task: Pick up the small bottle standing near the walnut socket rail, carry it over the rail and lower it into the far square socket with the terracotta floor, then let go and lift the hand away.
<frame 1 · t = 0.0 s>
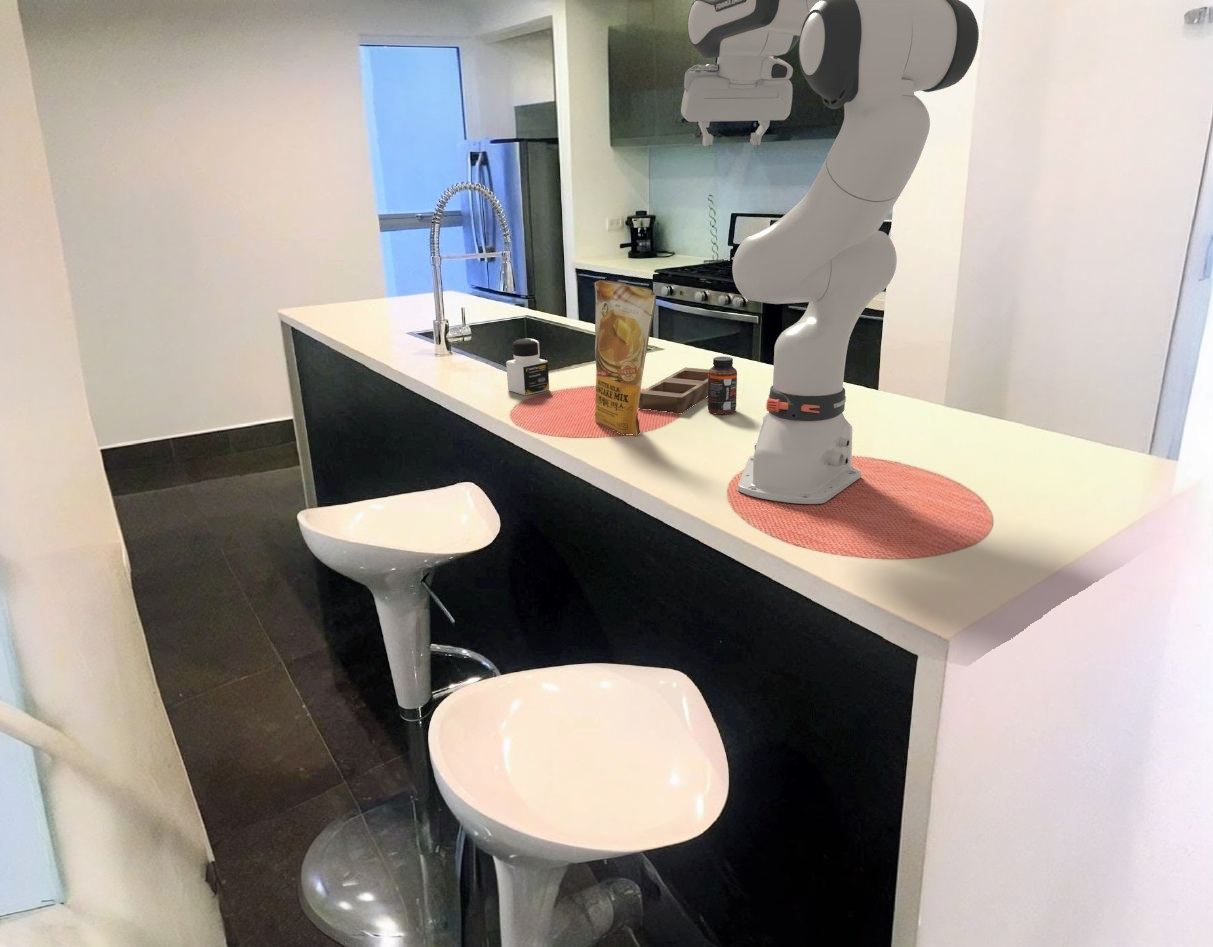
hand: (731, 144, 156), 52 cm above the table, tool tilted 20°, fingers open, 8 cm apart
supplement bottle: (721, 412, 174), on the table
socket rail: (683, 396, 186), on the table
medicine bottle: (528, 391, 196), on the table
pancake mix bag: (620, 426, 167), on the table
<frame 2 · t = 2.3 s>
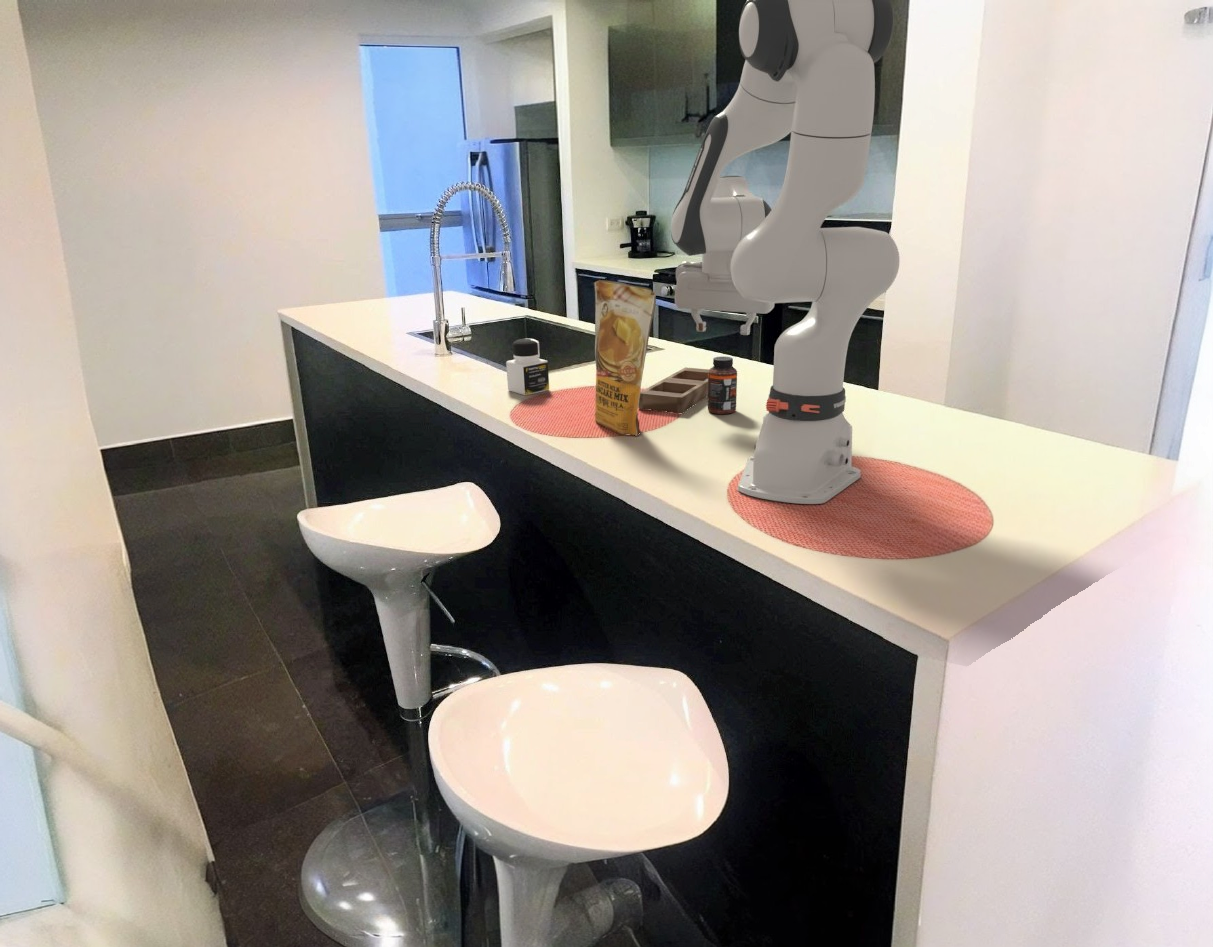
hand: (722, 332, 169), 16 cm above the table, tool pointing down, fingers open, 8 cm apart
nothing on the table moved.
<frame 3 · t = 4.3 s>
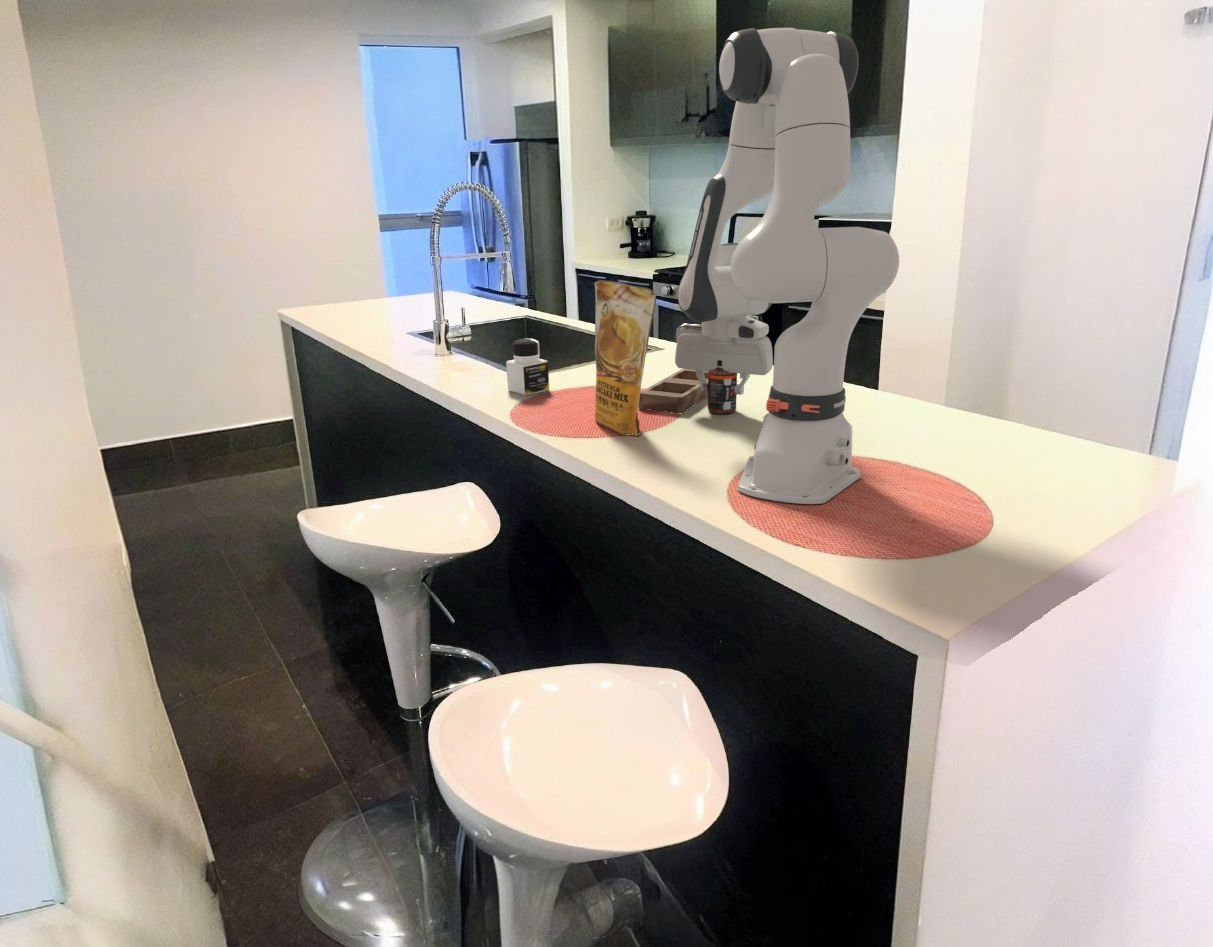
hand: (722, 392, 173), 4 cm above the table, tool pointing down, fingers closed on supplement bottle, 6 cm apart
supplement bottle: (721, 412, 174), on the table, touching gripper
everything else where it was.
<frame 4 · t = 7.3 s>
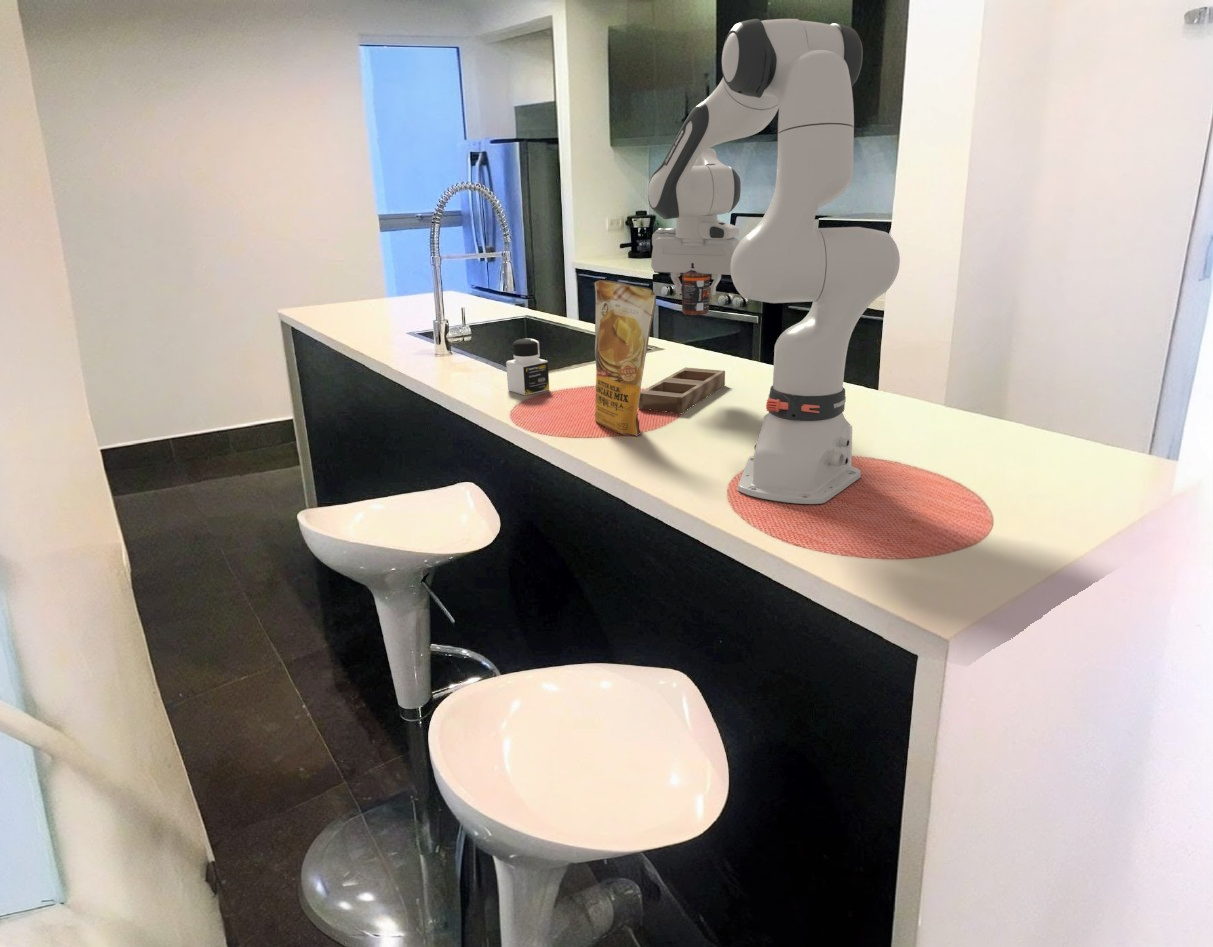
hand: (695, 293, 183), 22 cm above the table, tool pointing down, fingers closed on supplement bottle, 6 cm apart
supplement bottle: (695, 314, 185), point 17 cm above the table, touching gripper
everything else where it was.
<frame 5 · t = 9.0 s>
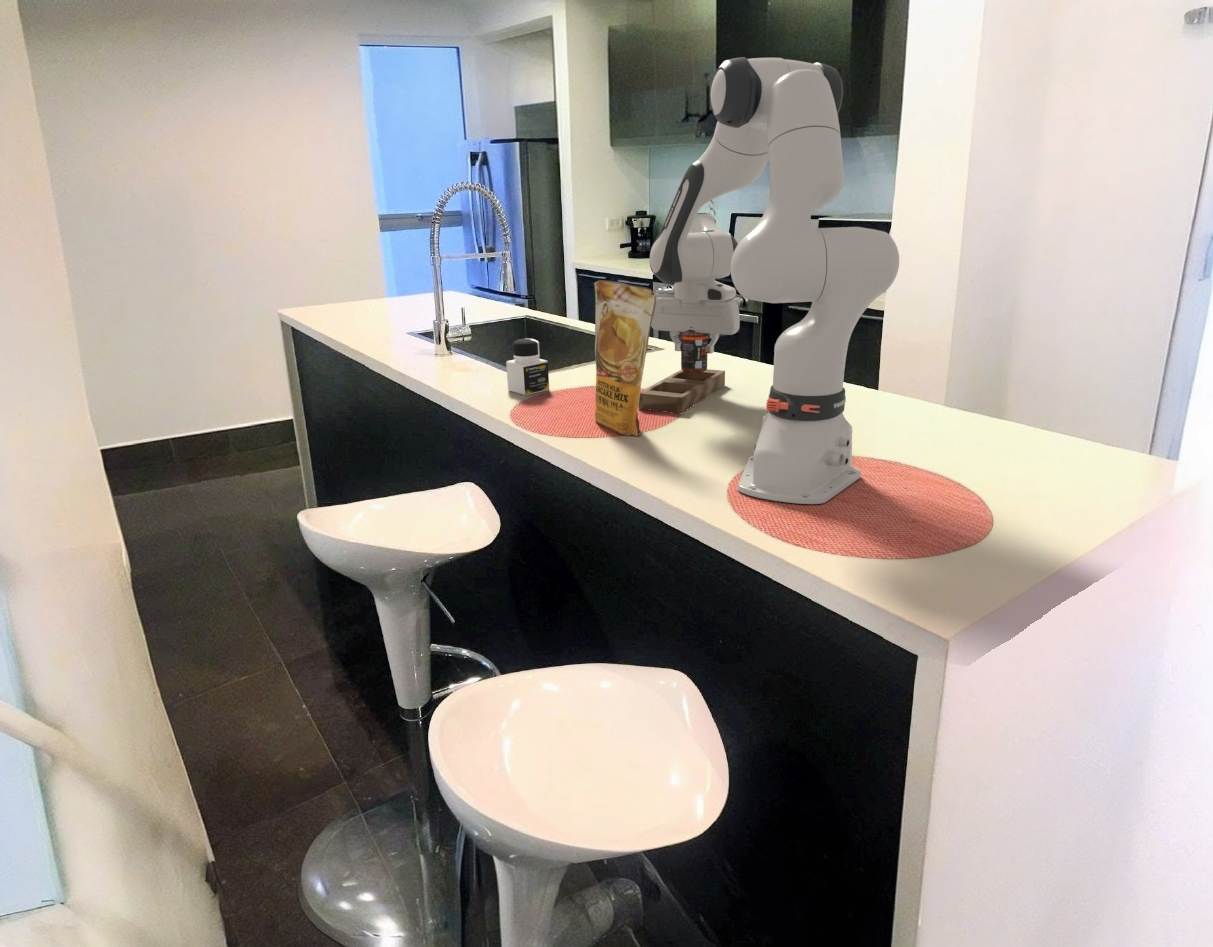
hand: (694, 351, 188), 9 cm above the table, tool pointing down, fingers closed on supplement bottle, 6 cm apart
supplement bottle: (694, 371, 190), point 4 cm above the table, touching gripper
everything else where it was.
when the fingers open (6 cm above the table, at t = 10.5 s): supplement bottle drops 1 cm, resting on socket rail.
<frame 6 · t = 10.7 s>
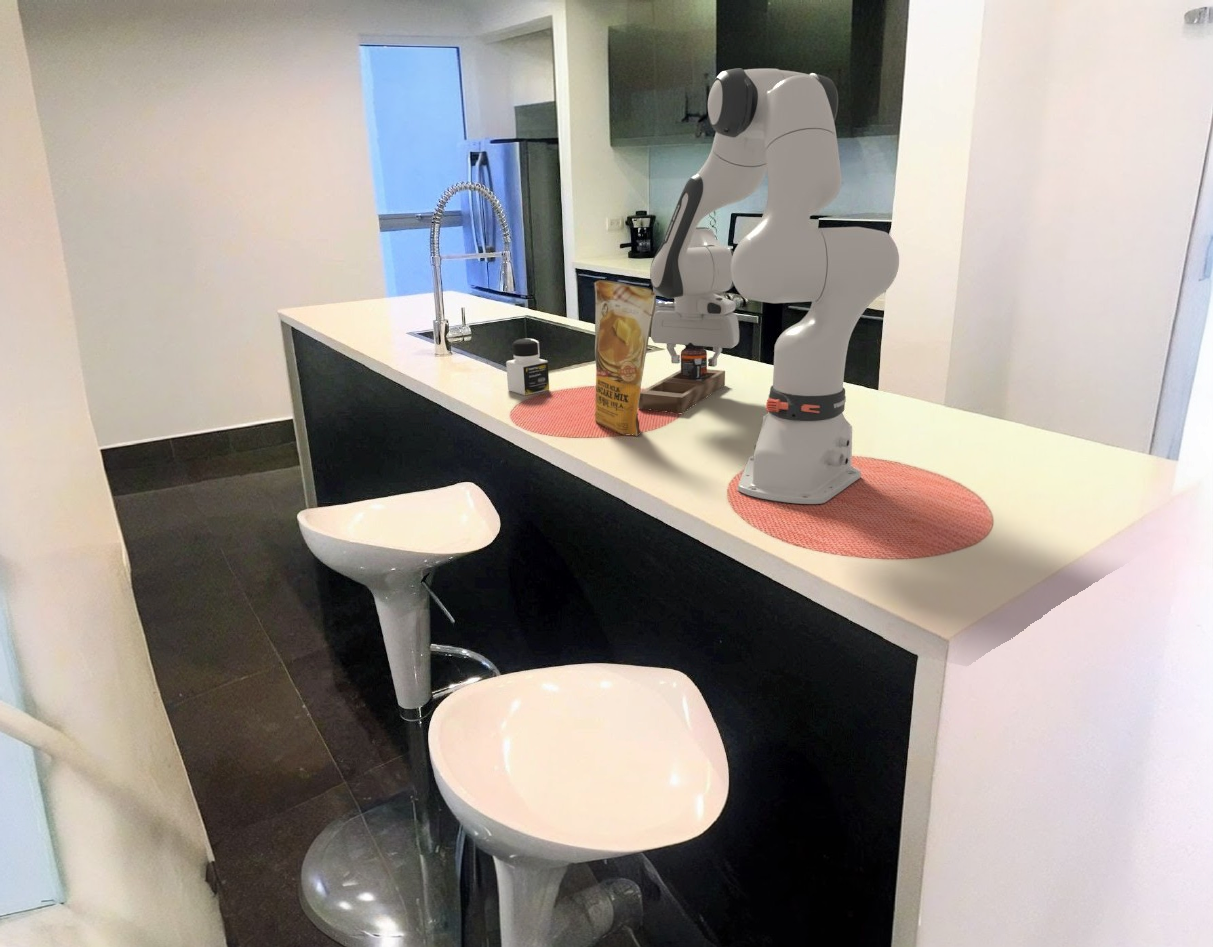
hand: (693, 364, 189), 6 cm above the table, tool pointing down, fingers open, 8 cm apart
supplement bottle: (694, 389, 191), resting on socket rail
everything else where it was.
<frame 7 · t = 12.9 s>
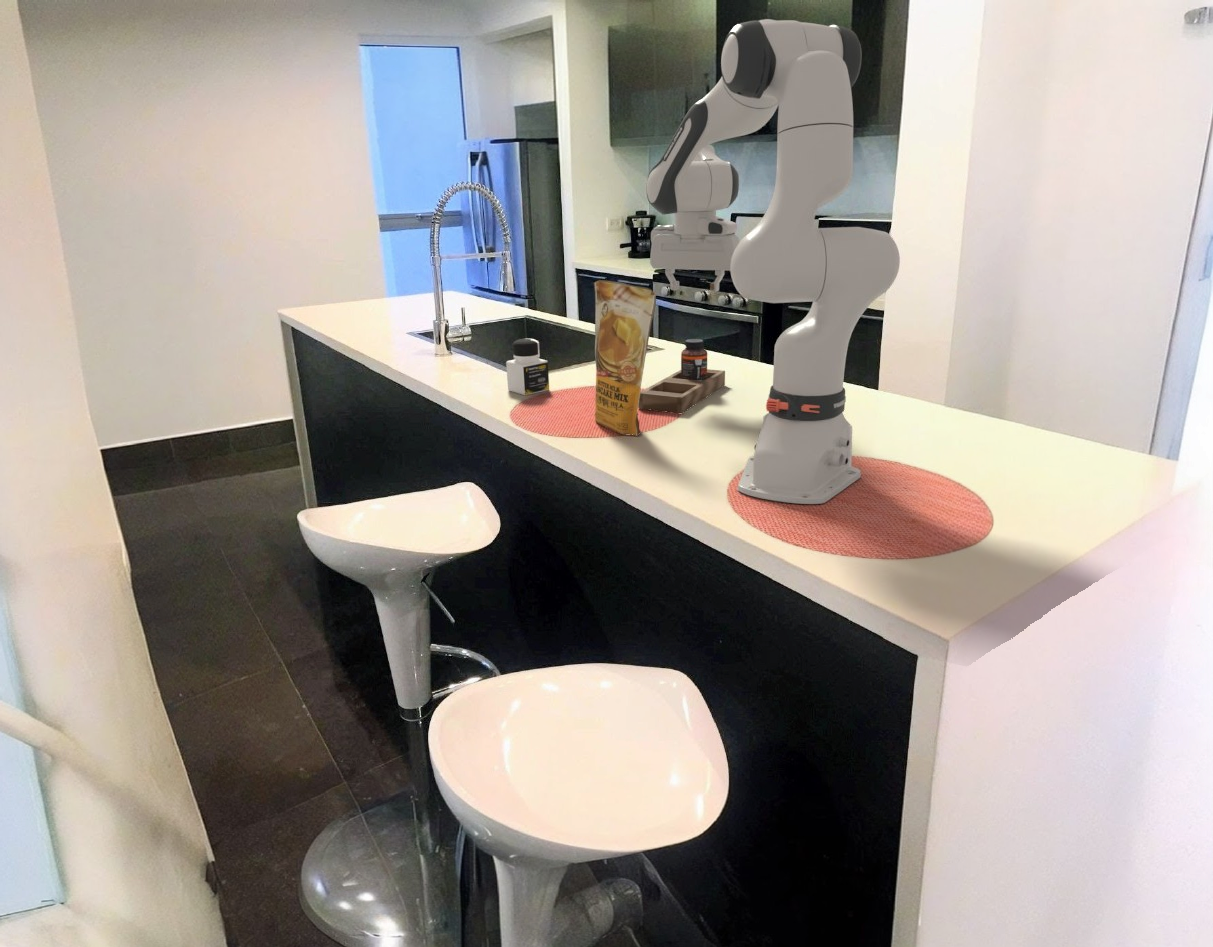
hand: (694, 290, 184), 23 cm above the table, tool pointing down, fingers open, 8 cm apart
nothing on the table moved.
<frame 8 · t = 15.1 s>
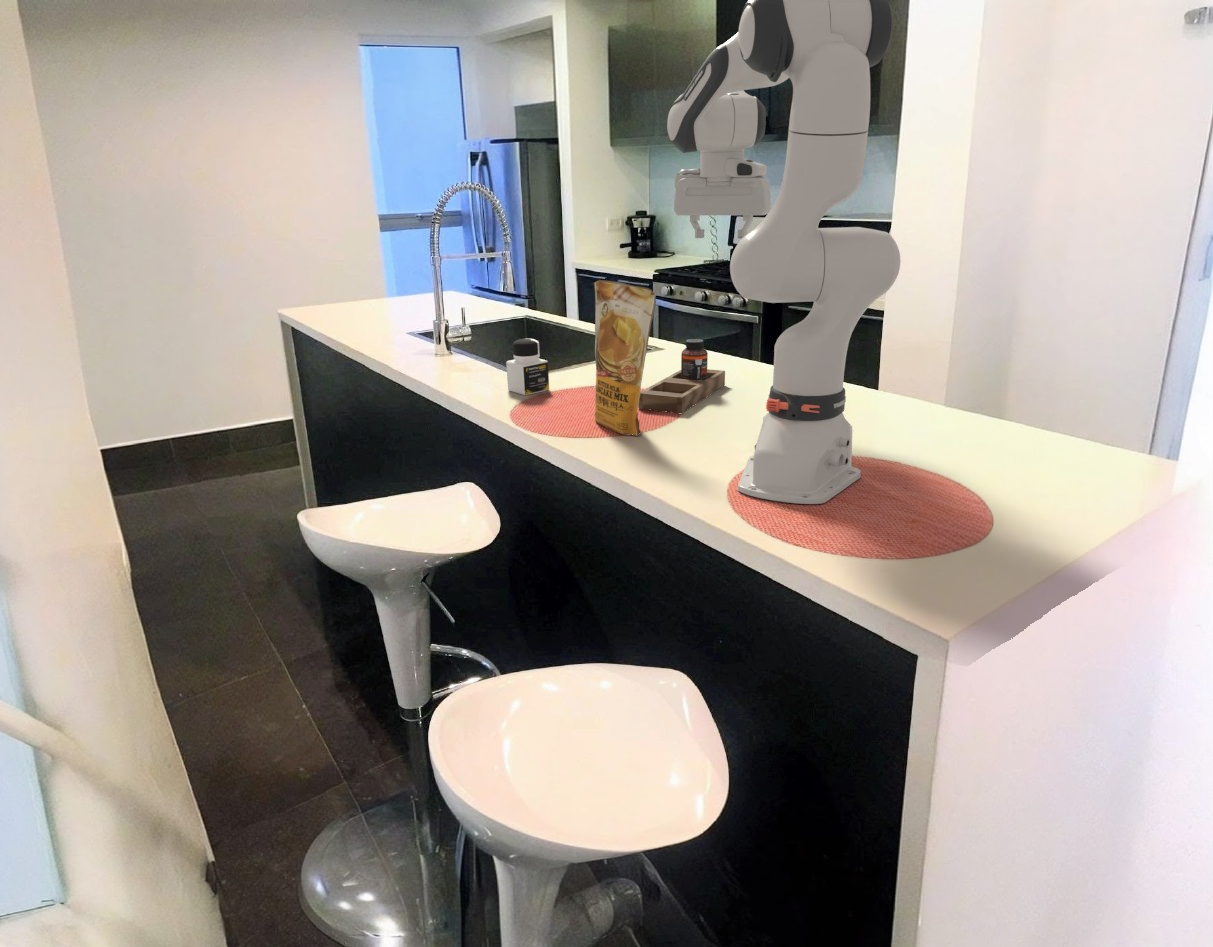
hand: (720, 238, 174), 34 cm above the table, tool pointing down, fingers open, 8 cm apart
nothing on the table moved.
at the end: supplement bottle 0.1 cm from the target spot on the socket rail, point 0.1 cm above the socket rail's base; supplement bottle tilted 0°; the gripper is holding nothing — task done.
